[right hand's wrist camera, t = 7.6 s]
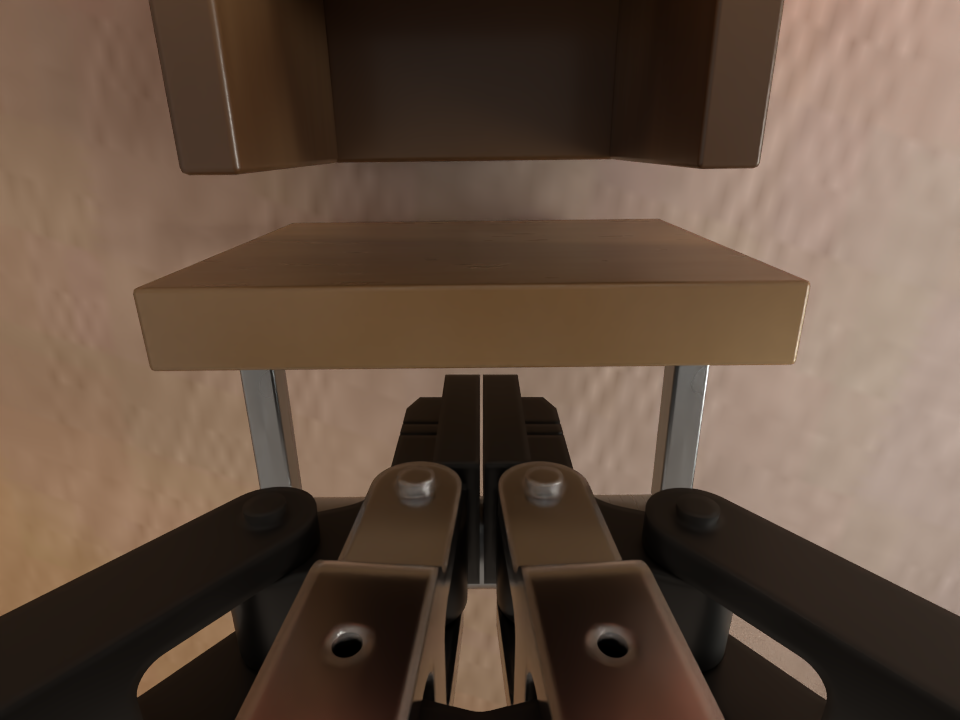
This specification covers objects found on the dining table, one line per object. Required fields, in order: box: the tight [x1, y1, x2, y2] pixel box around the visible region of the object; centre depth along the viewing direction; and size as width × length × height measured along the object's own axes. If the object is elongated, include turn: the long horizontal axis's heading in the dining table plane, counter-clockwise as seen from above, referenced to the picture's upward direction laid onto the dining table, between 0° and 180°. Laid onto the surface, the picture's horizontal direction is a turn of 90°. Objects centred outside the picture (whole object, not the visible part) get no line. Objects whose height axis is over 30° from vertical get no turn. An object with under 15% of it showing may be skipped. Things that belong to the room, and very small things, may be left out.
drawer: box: [133, 0, 810, 589], centre depth 9 cm, size 20×9×7 cm, turn 1°
